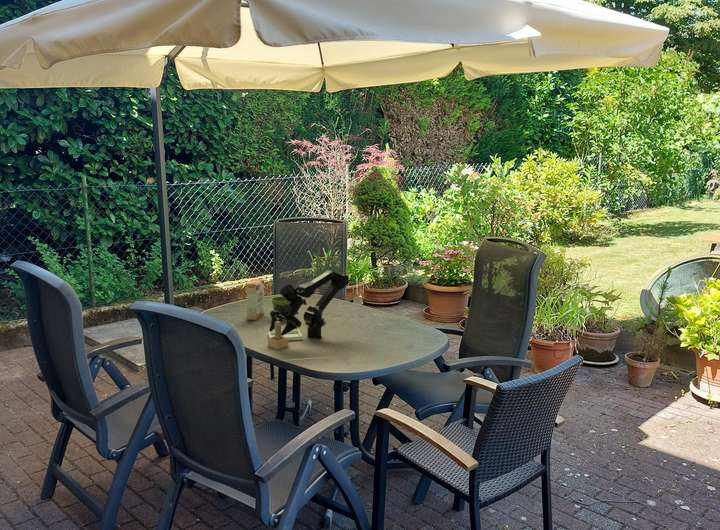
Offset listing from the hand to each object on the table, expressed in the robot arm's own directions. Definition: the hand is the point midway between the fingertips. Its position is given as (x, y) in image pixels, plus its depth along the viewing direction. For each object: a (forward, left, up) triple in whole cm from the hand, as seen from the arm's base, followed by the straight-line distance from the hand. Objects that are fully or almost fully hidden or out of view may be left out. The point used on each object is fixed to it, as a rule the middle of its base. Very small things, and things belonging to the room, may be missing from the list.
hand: (275, 333), depth 295 cm
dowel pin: (-1, -1, -7) cm, 7 cm away
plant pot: (-9, -53, -7) cm, 54 cm away
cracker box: (+5, -58, -7) cm, 58 cm away
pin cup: (-1, -1, -7) cm, 7 cm away
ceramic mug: (-26, -39, -7) cm, 47 cm away
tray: (-6, -14, -7) cm, 17 cm away
